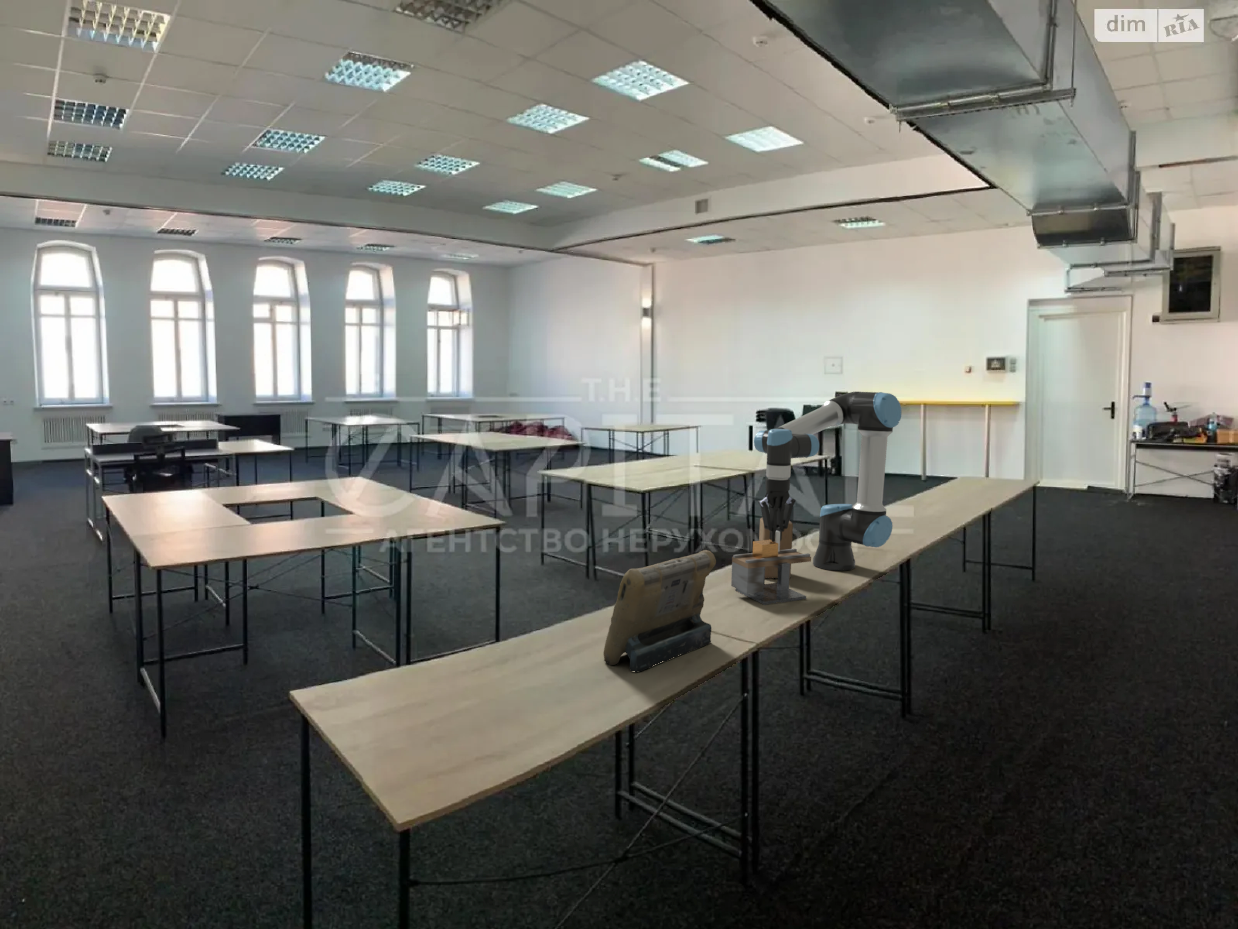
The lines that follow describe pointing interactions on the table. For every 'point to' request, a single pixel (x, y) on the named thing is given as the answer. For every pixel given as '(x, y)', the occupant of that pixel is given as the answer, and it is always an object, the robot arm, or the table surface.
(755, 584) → the beam
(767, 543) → the rider
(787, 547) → the wooden block
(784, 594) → the pivot stand
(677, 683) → the table surface
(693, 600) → the tablet
